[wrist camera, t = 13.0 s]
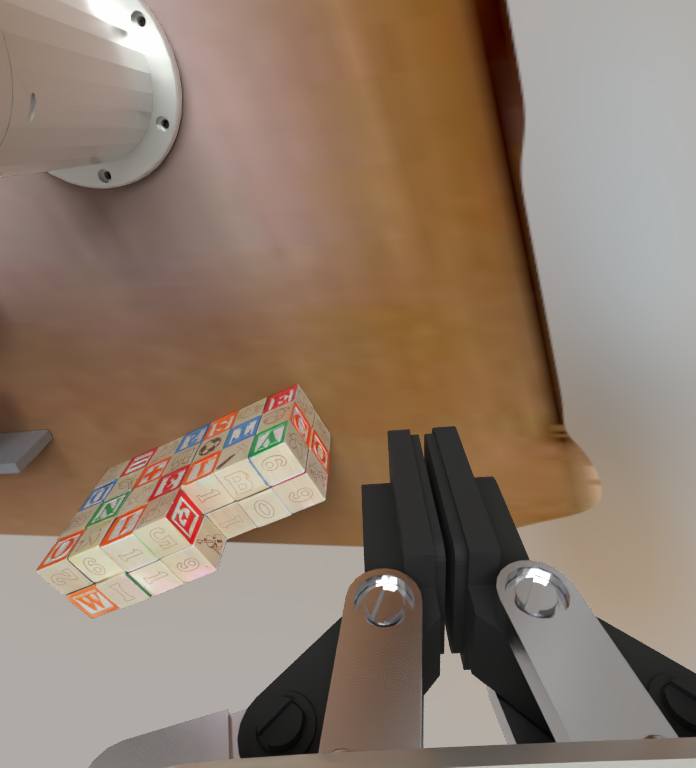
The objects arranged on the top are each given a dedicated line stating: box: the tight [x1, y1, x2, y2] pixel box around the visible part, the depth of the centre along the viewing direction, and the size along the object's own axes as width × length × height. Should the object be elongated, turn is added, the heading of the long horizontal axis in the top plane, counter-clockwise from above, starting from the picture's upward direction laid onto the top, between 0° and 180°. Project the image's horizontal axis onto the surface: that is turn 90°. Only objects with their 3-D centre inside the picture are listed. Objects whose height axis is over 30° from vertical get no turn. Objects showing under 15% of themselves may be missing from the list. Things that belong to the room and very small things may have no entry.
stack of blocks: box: [36, 384, 330, 618], centre depth 40 cm, size 21×6×12 cm, turn 117°
